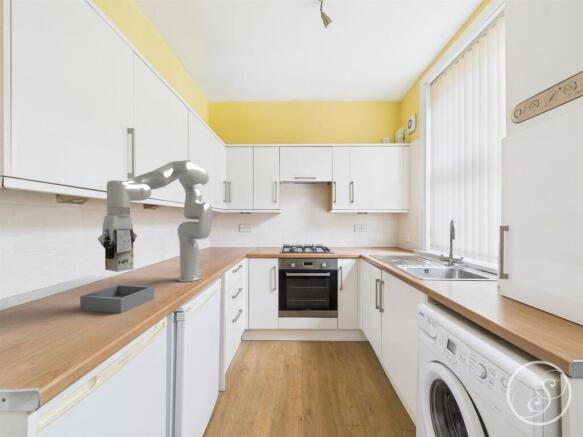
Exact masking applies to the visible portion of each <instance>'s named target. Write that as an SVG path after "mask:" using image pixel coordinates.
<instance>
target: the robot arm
mask: <svg viewBox="0 0 583 437" xmlns="http://www.w3.org/2000/svg"><path fill="white" fill-rule="evenodd" d="M209 179H210V176H209V173H208V172H207V170H206V169H204V168H203V167H201V166H199V165H197V164H196V163H194V162H192V161H189V160H185V159H184V160H176V161H174V160H173V161H171V162H170V161H169V162H167V163H165V164H164V165H162V166H160V167H158V168H156V169H154V170H151V171H149V172H145V173H142V174H140V175H137V176H134V177H132V178H130V179H127V180H126V181H124V180H115V179H114V180H109V181H108V180H107V183H106V215H105V216H104V218H103V223H102V232H101V233H102V234H101V235H100V236H98V238H97V241H98V242H99V243H100V245H101V246H102V247H103V249H104V254H105V255H104V258H106V259H113V258H114V248H112V247H113V245H114V244H113V241H114V240H115V230H117V229H133V230H134V228H133V227H134V226H133V220H132V216H131V213H132V211H131V202H132V201H133V202H134V201H135V202H136V201H138V202H139V201H145V200H147V199H149V198H150V197H151V196H152V190H157V189H161V188H164V187H167V186H168V185H170V184H172V183H173V182H175V181H176V180H178V181H179V183H180V184H181V186H182V188H183V190H184V191H185V192H184V193H185V198H184V199H185V200H184V206H183V218H185V219H187V220H191V221H184V222H183V221H182V223H180V224H179V225H178V227H177V236H178V240H179V276H178V277H176V281H178V282H181V283H183V282H184V283H187V282H189V283H191V282H196V281H199V280H201V279H202V278H203V276H202V275H201V274H200V273H202V272H203V269H202V268H199V264H200V263H199V259H200V258H199V248H200V247H199V244H198V242H197V240H206V239H207V238H209V237H210V235H211V230H212V223H213V222H212V221H213V215H214V214H213V213H214V212H213V207H212V205H210V203H208V202H203V200H202V198H203V197H202V196H203V194H202V191H201V190H200V188H199V187H198V186H205V185H207V184H208V183H209V181H210V180H209ZM193 220H195V221H193ZM137 237H138V235H137V233H135V231H133V244H134V243H135V241H136V239H137ZM110 239H111V240H110ZM109 243H110V244H109Z"/></svg>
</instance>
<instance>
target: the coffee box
mask: <svg viewBox="0 0 583 437" xmlns="http://www.w3.org/2000/svg"><path fill="white" fill-rule="evenodd" d="M133 232H134V228H133V229H117V230H115V240H114V241H113V244H114V245H113V247H112V248H114V258H113V259H106V258H105V257H104V258H105V260H104V263H105V264H104V267H105V268H104V269H105V271H110V272H117V273H119V272H124V271H129V270H130V271H131V270H133V269H134V243H133ZM110 240H111V239H110ZM109 244H110V243H109Z"/></svg>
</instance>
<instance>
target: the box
mask: <svg viewBox="0 0 583 437" xmlns="http://www.w3.org/2000/svg"><path fill="white" fill-rule="evenodd" d="M154 299H155V286H146V285H132V284H131V285H130V284H116V285H112V286H109V287H106V288H102V289H100V290H97V291H96V290H95V291H93V292H90V293H86V294H83V295H80V297H79V303H80V305H79V306H80V308H79V310H81V311H90V312H91V311H92V312H103V313H115V314H123V313H125V312H127V311H129V310H132V309H133V308H137V307H138V306H141V305H143V304H145V303H147V302H150V301H152V300H154Z"/></svg>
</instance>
